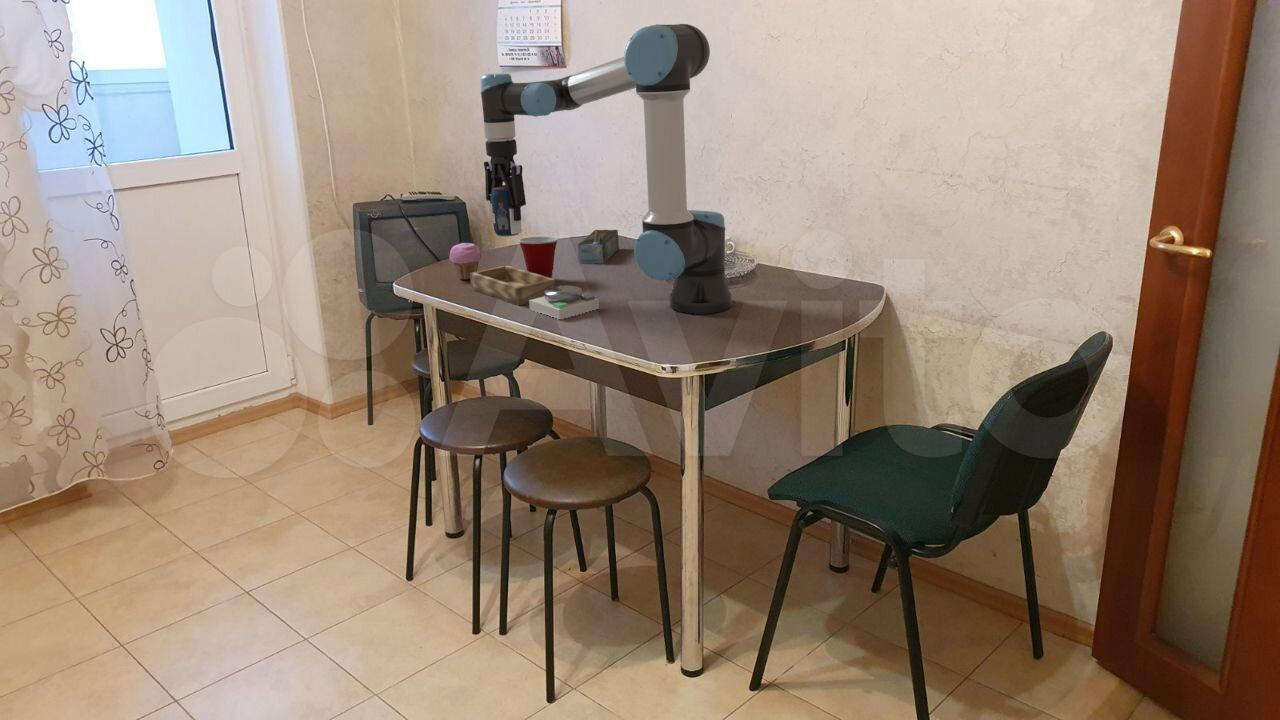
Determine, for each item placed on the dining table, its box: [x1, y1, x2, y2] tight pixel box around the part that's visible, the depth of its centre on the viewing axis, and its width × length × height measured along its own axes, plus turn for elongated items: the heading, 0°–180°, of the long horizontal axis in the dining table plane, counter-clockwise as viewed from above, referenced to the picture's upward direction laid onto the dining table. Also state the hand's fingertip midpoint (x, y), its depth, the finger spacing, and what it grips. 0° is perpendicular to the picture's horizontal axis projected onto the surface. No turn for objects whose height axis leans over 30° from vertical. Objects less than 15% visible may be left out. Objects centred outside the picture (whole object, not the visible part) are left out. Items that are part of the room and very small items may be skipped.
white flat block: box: [528, 293, 600, 320], centre depth 227 cm, size 12×12×3 cm
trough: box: [469, 264, 556, 307], centre depth 243 cm, size 22×12×4 cm, turn 42°
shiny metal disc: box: [545, 285, 583, 302], centre depth 227 cm, size 9×9×2 cm
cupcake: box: [449, 242, 482, 281], centre depth 257 cm, size 9×9×10 cm
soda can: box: [490, 184, 520, 237], centre depth 236 cm, size 7×7×12 cm
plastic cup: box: [517, 235, 559, 279], centre depth 252 cm, size 11×11×12 cm
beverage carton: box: [577, 229, 620, 265], centre depth 278 cm, size 8×19×7 cm, turn 167°
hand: (507, 231), depth 238 cm, fingers closed on soda can, 7 cm apart
